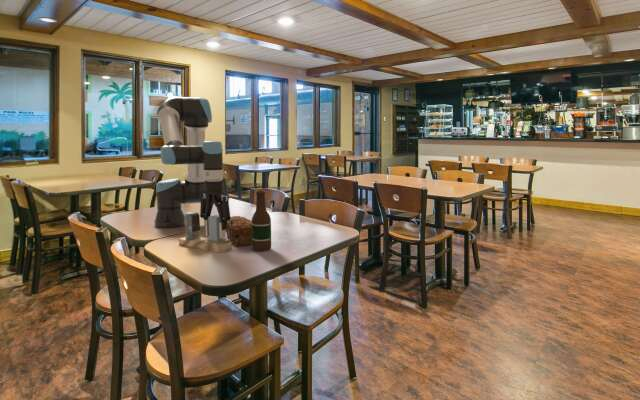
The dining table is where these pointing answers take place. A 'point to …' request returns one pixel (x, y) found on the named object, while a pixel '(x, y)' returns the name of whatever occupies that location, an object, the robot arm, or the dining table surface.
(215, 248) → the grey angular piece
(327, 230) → the dining table surface
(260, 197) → the beer bottle
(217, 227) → the block
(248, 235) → the bread
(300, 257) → the dining table surface
